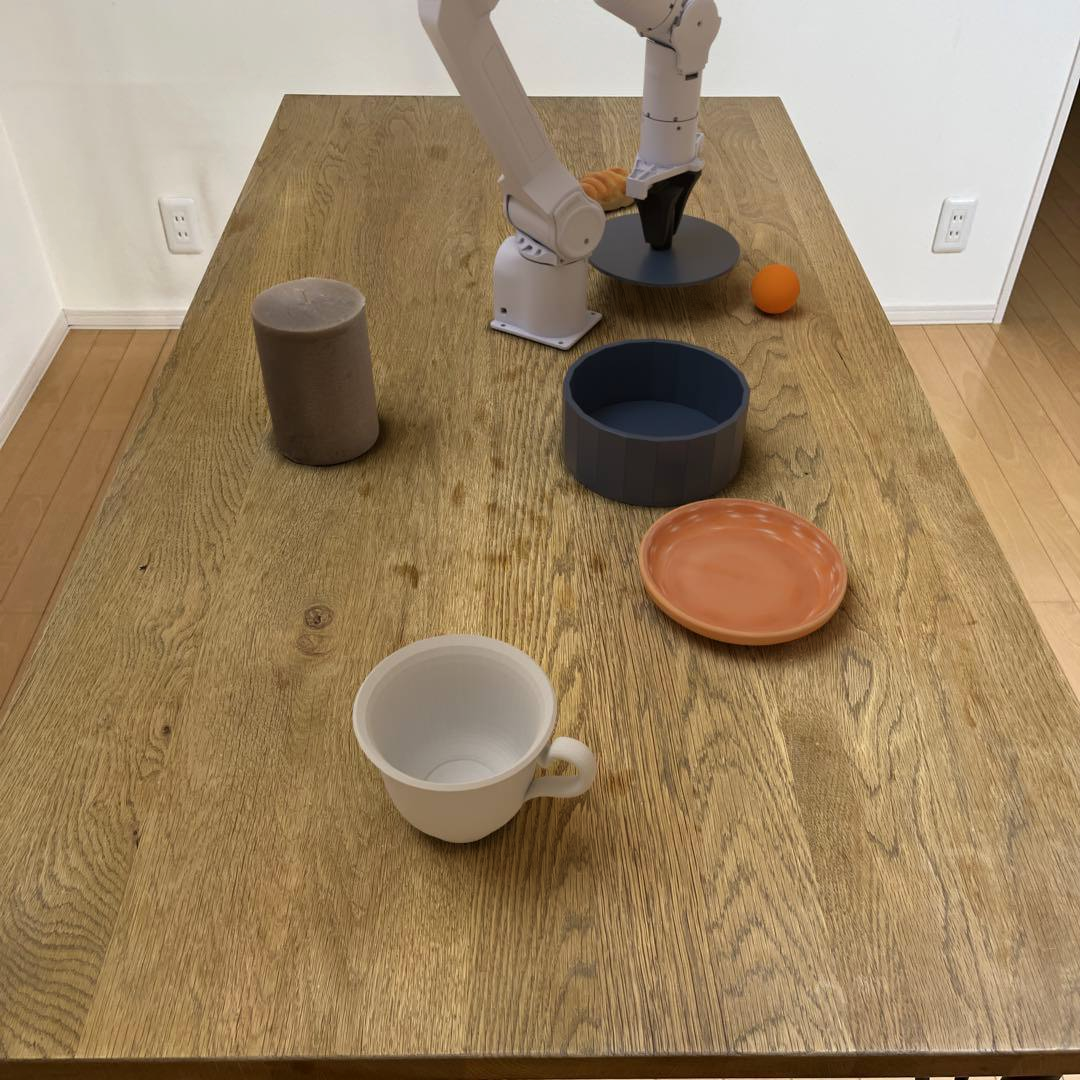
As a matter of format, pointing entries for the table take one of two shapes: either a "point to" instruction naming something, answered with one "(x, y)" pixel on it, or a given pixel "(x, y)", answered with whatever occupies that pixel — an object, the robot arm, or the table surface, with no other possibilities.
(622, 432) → the pot
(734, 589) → the saucer
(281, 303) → the pillar candle
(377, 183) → the table surface
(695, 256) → the lid
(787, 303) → the orange
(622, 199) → the pastry
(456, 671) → the teacup
